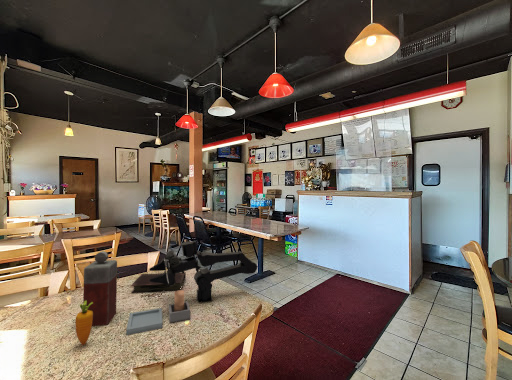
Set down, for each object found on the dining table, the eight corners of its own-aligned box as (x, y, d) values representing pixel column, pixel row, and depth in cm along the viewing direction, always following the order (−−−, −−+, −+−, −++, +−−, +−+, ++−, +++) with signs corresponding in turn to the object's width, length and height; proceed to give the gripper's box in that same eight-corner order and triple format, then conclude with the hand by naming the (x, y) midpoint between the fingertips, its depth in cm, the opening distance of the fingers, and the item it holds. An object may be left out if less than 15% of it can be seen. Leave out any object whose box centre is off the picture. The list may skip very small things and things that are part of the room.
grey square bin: (187, 310, 104) (187, 301, 104) (189, 319, 97) (190, 310, 97) (168, 313, 101) (168, 304, 101) (169, 323, 94) (169, 313, 94)
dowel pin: (183, 312, 102) (184, 289, 102) (184, 316, 98) (184, 293, 98) (173, 313, 100) (174, 290, 100) (174, 318, 97) (175, 294, 97)
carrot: (81, 340, 83) (81, 298, 83) (95, 340, 83) (96, 298, 83) (71, 350, 78) (72, 305, 78) (86, 349, 78) (87, 304, 78)
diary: (141, 281, 138) (142, 272, 138) (185, 279, 142) (185, 271, 142) (130, 294, 119) (130, 285, 119) (181, 292, 123) (181, 282, 123)
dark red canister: (118, 310, 103) (119, 247, 103) (107, 324, 92) (109, 254, 92) (95, 312, 101) (97, 248, 101) (82, 327, 90) (83, 255, 90)
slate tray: (161, 312, 102) (161, 307, 102) (162, 328, 91) (162, 322, 91) (129, 317, 97) (129, 313, 97) (126, 335, 86) (126, 329, 86)
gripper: (179, 241, 118) (146, 250, 112) (185, 259, 101) (146, 269, 95) (183, 261, 121) (150, 270, 114) (189, 281, 104) (151, 292, 98)
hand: (149, 274), depth 105 cm, fingers open, 9 cm apart
